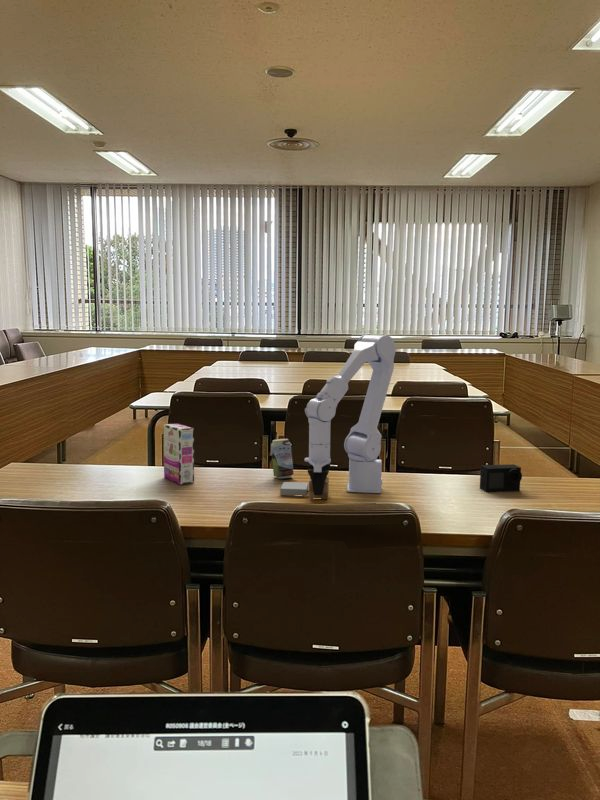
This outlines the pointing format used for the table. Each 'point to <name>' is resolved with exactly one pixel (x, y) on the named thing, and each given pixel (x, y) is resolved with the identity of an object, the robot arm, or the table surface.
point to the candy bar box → (179, 453)
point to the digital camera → (500, 478)
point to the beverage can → (282, 458)
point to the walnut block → (325, 490)
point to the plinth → (294, 488)
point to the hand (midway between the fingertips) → (318, 492)
